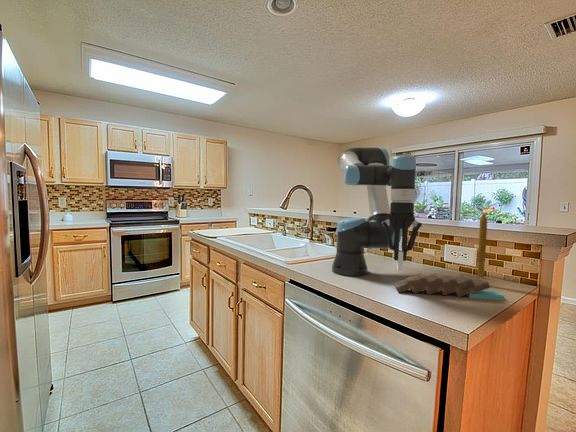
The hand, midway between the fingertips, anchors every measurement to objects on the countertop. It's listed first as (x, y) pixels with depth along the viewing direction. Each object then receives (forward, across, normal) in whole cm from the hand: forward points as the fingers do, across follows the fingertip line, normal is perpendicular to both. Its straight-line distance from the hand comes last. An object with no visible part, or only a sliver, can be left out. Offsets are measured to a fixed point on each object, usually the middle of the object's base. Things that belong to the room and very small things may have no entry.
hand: (399, 269), depth 98 cm
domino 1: (+7, -1, 0) cm, 7 cm away
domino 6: (+7, +22, 0) cm, 23 cm away
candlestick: (+8, +32, +14) cm, 36 cm away
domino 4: (+6, +13, 0) cm, 15 cm away
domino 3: (+7, +8, 0) cm, 11 cm away
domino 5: (+7, +18, 0) cm, 19 cm away
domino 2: (+7, +4, 0) cm, 8 cm away
